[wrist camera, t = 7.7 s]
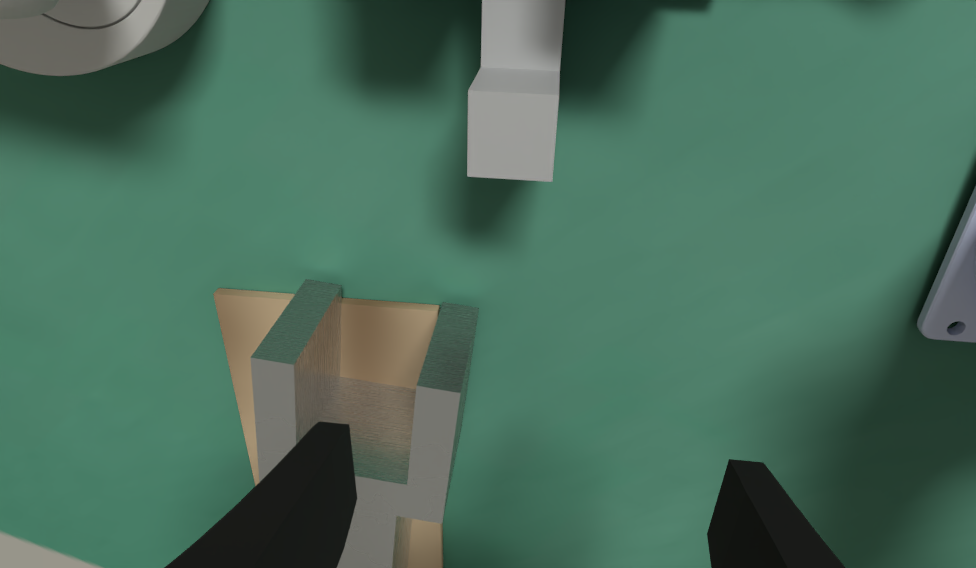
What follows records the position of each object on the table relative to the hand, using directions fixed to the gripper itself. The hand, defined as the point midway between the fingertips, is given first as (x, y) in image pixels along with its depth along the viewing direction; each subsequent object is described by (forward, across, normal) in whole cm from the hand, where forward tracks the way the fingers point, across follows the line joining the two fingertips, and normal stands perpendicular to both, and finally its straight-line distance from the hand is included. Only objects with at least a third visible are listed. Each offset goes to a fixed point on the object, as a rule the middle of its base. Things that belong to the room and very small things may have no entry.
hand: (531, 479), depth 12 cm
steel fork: (+9, +6, +9) cm, 14 cm away
